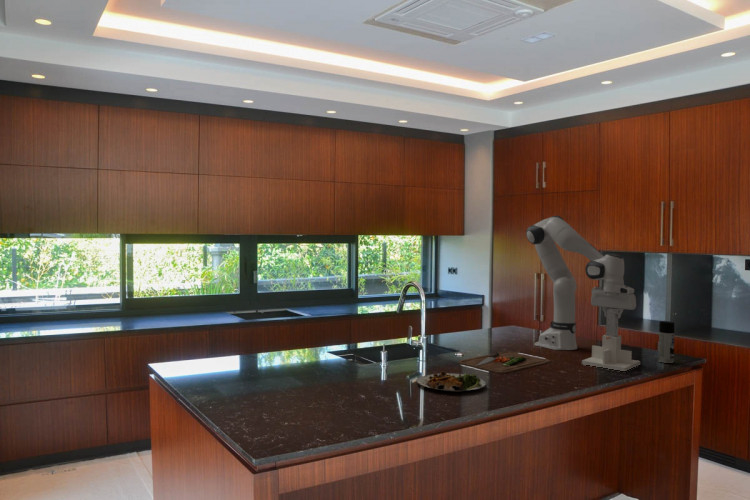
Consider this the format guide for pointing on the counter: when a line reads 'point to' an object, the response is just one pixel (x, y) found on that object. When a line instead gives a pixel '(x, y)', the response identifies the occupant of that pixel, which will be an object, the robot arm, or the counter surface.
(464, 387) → the plate of food
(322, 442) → the counter surface
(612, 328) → the column
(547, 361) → the chopping board
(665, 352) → the spray can
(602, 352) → the stand
